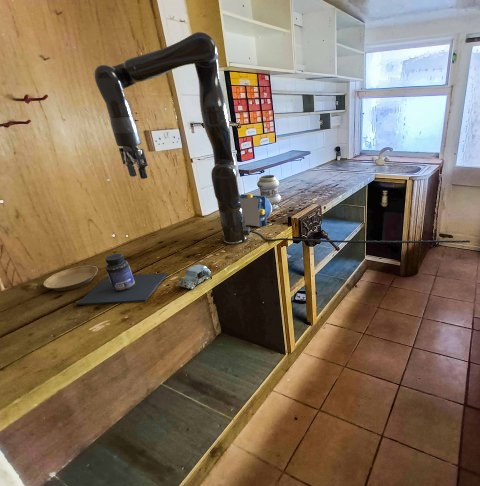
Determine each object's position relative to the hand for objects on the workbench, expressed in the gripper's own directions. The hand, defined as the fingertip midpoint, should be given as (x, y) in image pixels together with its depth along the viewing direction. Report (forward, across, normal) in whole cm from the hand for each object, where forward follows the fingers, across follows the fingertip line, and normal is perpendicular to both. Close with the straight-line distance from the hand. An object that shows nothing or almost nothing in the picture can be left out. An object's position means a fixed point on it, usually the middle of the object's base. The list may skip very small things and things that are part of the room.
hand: (138, 177), depth 116 cm
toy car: (+30, -38, +6) cm, 49 cm away
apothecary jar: (+30, 0, -64) cm, 71 cm away
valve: (+30, -9, -44) cm, 55 cm away
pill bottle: (+29, -20, +22) cm, 42 cm away
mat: (+30, -20, +22) cm, 42 cm away
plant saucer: (+30, -1, +30) cm, 42 cm away
